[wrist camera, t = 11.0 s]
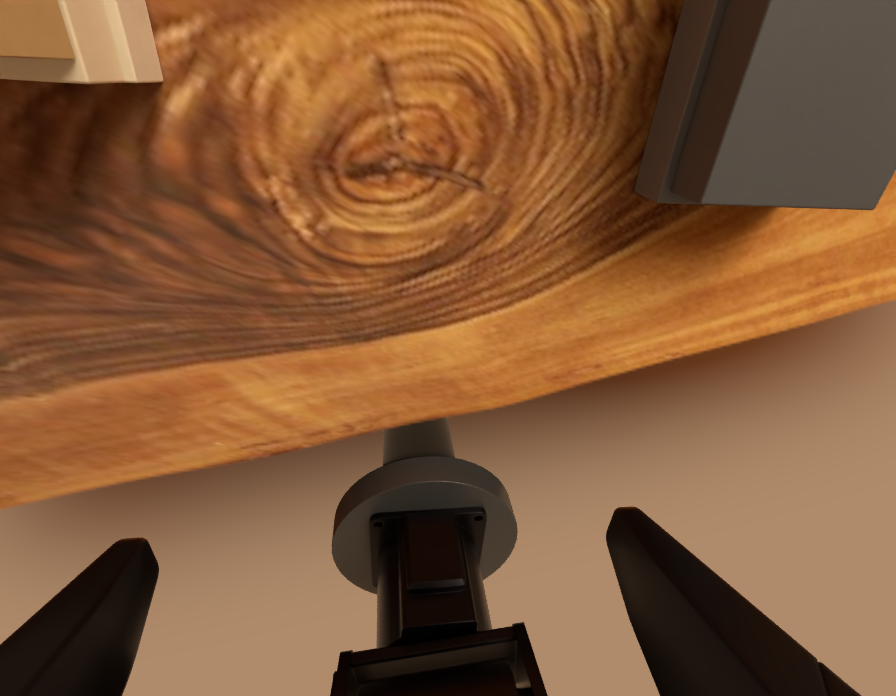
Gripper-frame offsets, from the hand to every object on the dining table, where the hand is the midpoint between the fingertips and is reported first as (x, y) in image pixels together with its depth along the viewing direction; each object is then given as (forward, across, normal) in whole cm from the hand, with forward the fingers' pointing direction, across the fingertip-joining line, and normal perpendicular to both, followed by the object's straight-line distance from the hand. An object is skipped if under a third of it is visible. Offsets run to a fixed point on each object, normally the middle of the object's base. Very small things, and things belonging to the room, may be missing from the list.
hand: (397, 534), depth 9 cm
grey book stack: (+13, -14, -9) cm, 21 cm away
